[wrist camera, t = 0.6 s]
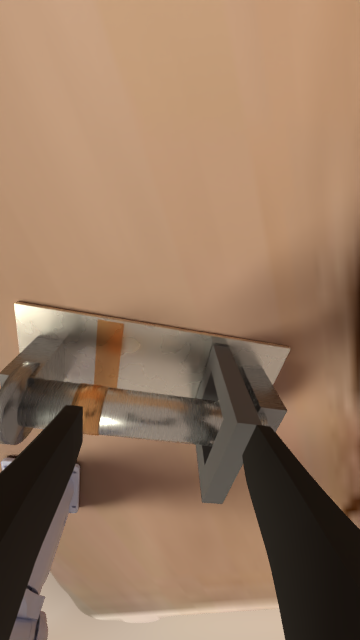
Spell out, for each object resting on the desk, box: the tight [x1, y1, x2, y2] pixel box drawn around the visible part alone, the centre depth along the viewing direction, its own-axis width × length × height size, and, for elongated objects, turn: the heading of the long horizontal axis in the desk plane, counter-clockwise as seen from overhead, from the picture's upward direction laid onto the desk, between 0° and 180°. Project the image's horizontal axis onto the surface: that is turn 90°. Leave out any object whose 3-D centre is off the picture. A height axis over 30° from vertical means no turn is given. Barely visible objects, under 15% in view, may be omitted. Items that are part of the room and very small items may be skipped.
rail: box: [0, 301, 290, 446], centre depth 17 cm, size 22×9×8 cm, turn 78°
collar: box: [196, 345, 262, 504], centre depth 17 cm, size 1×8×8 cm, turn 168°
